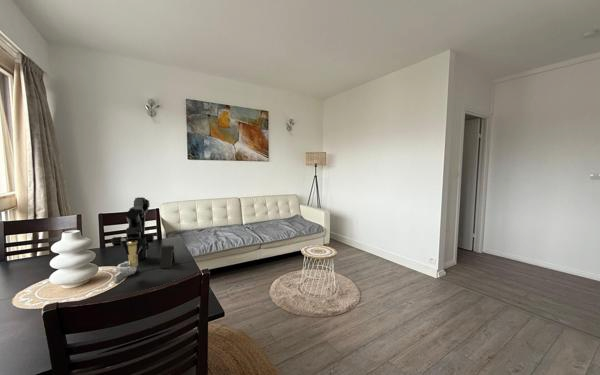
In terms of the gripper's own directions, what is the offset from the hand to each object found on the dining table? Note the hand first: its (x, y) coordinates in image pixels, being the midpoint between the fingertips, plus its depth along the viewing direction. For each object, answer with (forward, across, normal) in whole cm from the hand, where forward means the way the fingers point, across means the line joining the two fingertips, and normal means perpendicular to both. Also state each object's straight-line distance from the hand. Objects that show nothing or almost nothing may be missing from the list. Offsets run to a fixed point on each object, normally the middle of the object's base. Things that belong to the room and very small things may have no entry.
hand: (132, 254), depth 129 cm
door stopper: (+1, +16, +18) cm, 24 cm away
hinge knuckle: (+3, -4, +16) cm, 17 cm away
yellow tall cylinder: (+4, 0, +6) cm, 7 cm away
